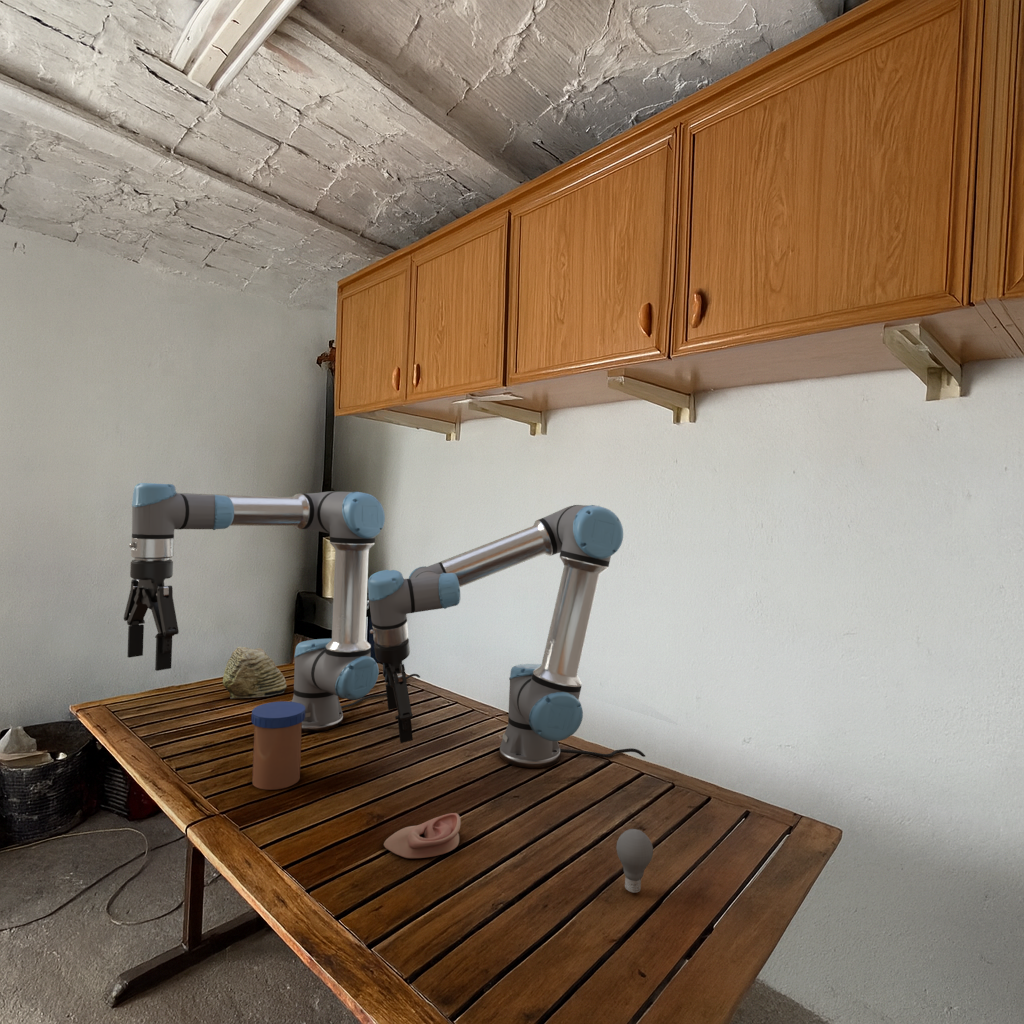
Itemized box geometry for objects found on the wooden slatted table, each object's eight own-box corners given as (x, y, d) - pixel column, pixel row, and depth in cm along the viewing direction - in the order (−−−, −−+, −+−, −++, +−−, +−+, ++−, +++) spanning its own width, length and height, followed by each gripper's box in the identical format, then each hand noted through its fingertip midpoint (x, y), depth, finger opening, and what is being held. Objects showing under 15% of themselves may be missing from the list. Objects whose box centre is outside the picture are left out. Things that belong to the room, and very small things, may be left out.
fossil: (218, 695, 195) (220, 647, 195) (278, 685, 208) (279, 640, 207) (228, 703, 189) (230, 653, 188) (289, 692, 201) (290, 645, 201)
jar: (289, 791, 136) (292, 720, 135) (244, 788, 136) (246, 717, 136) (306, 771, 146) (309, 705, 145) (263, 768, 146) (266, 702, 146)
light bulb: (610, 879, 108) (613, 822, 108) (644, 879, 109) (647, 822, 109) (619, 902, 102) (622, 840, 102) (655, 901, 103) (658, 840, 103)
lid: (294, 730, 135) (294, 719, 135) (242, 727, 135) (242, 716, 135) (312, 712, 146) (312, 702, 146) (264, 709, 146) (264, 700, 146)
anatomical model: (377, 831, 113) (401, 802, 124) (376, 853, 113) (400, 822, 124) (448, 842, 110) (466, 811, 122) (447, 865, 111) (465, 832, 122)
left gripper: (108, 554, 134) (104, 654, 134) (159, 565, 118) (155, 678, 119) (146, 552, 140) (143, 648, 140) (199, 563, 124) (195, 671, 124)
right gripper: (365, 620, 149) (374, 699, 155) (384, 670, 126) (394, 760, 132) (396, 614, 151) (404, 692, 157) (421, 662, 129) (429, 751, 135)
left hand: (148, 662), depth 129 cm, fingers open, 13 cm apart
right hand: (400, 723), depth 145 cm, fingers open, 13 cm apart
